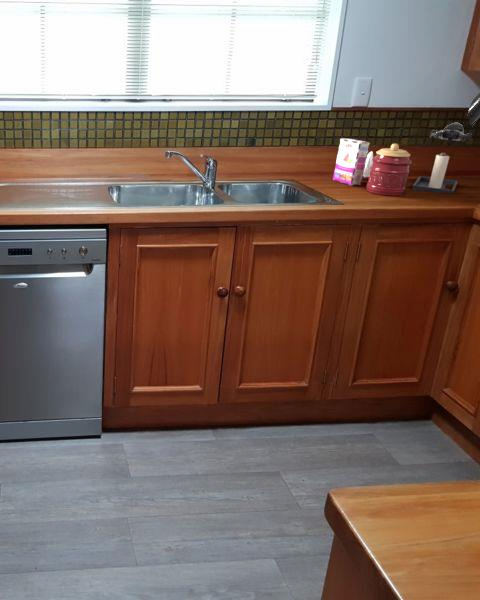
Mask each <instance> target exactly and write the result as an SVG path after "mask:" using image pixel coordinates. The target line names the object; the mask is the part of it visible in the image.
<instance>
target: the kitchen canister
mask: <svg viewBox="0 0 480 600" xmlns="http://www.w3.org/2000/svg"><path fill="white" fill-rule="evenodd" d="M375 153H376V155H375V156H373V158H372V160H373V165H372V166H371V167H370V168H371V170H370V174H369V177H368V178H367V179H368V180H367V183H366V189H365V190H366V191H367V192H369V193H371V194H375V195H381V196H387V197H388V196H389V197H390V196H391V197H396V196H403V195H404V193H405V191H406V185H407V181H408V178H409V177H408V176H409V173H410V170H409V169H410V165H411V164H412V160H410V157H411V154H410V153H409V152H408V150H405V149H400V145H399V144H398V143H392V144H391V145H390V148H385V147H384V148H380V149H379V150H377V151H376V152H375Z"/></svg>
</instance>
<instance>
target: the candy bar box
mask: <svg viewBox="0 0 480 600" xmlns="http://www.w3.org/2000/svg"><path fill="white" fill-rule="evenodd" d="M370 145H371V142H368V141H364V140H359V139H354V138H340V140H339V146H338V150H337V156H336V161H335V166H334V171H333V175H332V181H335V182H337V183H341V184H344V185H346V186H347V185H348V186H351V187H354V186H355V187H356V186H362V183H363V179H362V178H363V173H364V168H365V164H366V159H367V155H368V154H369V150H370Z"/></svg>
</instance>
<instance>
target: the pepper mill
mask: <svg viewBox="0 0 480 600" xmlns="http://www.w3.org/2000/svg"><path fill="white" fill-rule="evenodd" d="M449 160H450V155H448V154H447V153H446V152H441V153H440V154H436V155H435V159H434V163H433V167H432V171H431V175H430V177H429V178H430V182H429V187H431V188H441V187H442V183H443V179H444V180H445V176H446V173H447V168H448V164H449Z"/></svg>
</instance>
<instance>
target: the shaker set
mask: <svg viewBox="0 0 480 600" xmlns="http://www.w3.org/2000/svg"><path fill="white" fill-rule="evenodd" d="M373 157H374V152H373V151H370V152H368V155H367V159H366V164H365V168H364V173H363V178H362V180H365V179H366V180H367V179H369V174H370V170H371V168H370V167H371V166H372V165H373V160H372V158H373Z"/></svg>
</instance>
